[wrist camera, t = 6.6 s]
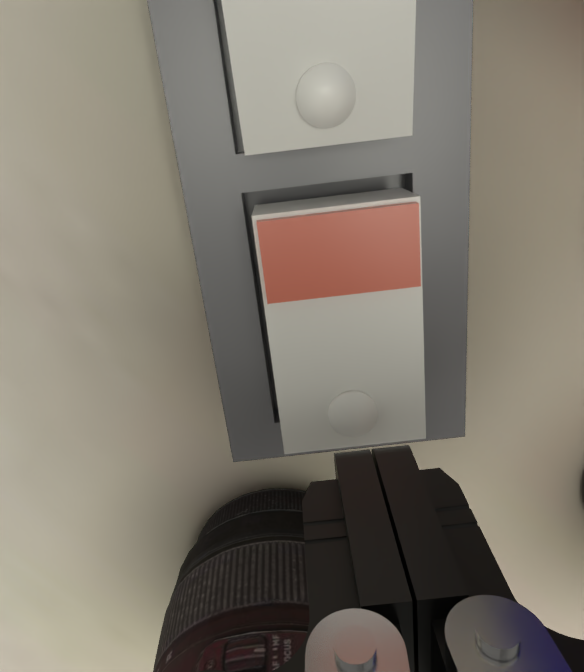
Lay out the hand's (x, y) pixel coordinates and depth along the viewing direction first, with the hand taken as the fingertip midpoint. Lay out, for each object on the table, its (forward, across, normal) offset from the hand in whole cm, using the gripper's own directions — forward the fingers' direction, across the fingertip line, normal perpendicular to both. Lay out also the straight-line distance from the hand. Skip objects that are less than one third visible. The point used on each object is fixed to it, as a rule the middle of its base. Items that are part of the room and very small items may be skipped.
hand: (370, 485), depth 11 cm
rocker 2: (+4, 0, -2) cm, 5 cm away
